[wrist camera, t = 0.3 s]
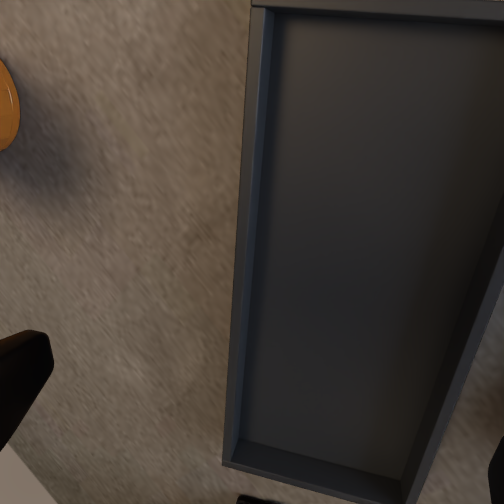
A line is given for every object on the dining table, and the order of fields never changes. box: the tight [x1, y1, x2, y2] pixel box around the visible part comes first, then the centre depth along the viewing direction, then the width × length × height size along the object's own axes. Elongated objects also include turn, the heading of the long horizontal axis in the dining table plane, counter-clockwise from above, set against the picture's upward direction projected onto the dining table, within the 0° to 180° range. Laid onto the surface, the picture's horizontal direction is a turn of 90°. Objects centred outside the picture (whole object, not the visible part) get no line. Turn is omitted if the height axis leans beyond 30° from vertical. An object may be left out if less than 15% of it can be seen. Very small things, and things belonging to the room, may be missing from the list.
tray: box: [222, 0, 504, 504], centre depth 21 cm, size 27×12×3 cm, turn 176°
